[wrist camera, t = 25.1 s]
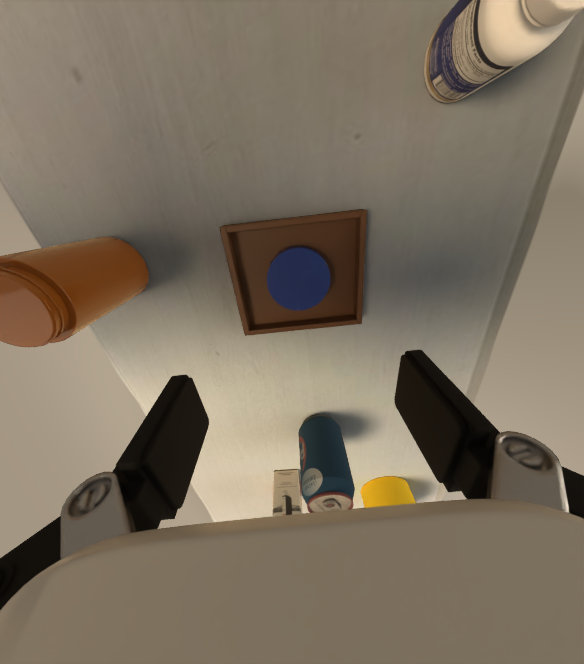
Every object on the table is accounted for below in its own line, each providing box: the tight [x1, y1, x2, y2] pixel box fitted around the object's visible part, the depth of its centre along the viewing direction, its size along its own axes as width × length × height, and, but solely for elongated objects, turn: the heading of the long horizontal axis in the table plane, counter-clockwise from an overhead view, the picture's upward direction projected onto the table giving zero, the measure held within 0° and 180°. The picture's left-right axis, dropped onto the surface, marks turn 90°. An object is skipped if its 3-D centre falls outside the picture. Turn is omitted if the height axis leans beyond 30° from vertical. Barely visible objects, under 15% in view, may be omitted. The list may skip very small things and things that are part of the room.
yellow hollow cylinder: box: [361, 476, 416, 508], centre depth 46 cm, size 10×10×9 cm
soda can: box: [299, 415, 355, 513], centre depth 34 cm, size 7×7×12 cm
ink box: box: [273, 470, 302, 517], centre depth 42 cm, size 8×5×12 cm, turn 5°
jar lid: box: [266, 245, 330, 311], centre depth 26 cm, size 7×7×2 cm
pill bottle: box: [424, 0, 584, 103], centre depth 14 cm, size 5×5×10 cm
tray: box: [220, 209, 367, 336], centre depth 26 cm, size 14×12×2 cm
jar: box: [0, 237, 149, 347], centre depth 21 cm, size 7×7×12 cm
